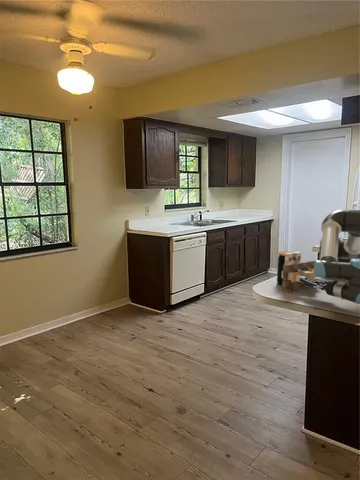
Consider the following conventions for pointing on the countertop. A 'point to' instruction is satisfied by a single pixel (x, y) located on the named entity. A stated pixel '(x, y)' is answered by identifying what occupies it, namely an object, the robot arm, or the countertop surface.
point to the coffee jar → (281, 266)
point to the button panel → (294, 265)
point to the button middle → (306, 274)
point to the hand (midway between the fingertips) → (296, 277)
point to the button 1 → (292, 275)
